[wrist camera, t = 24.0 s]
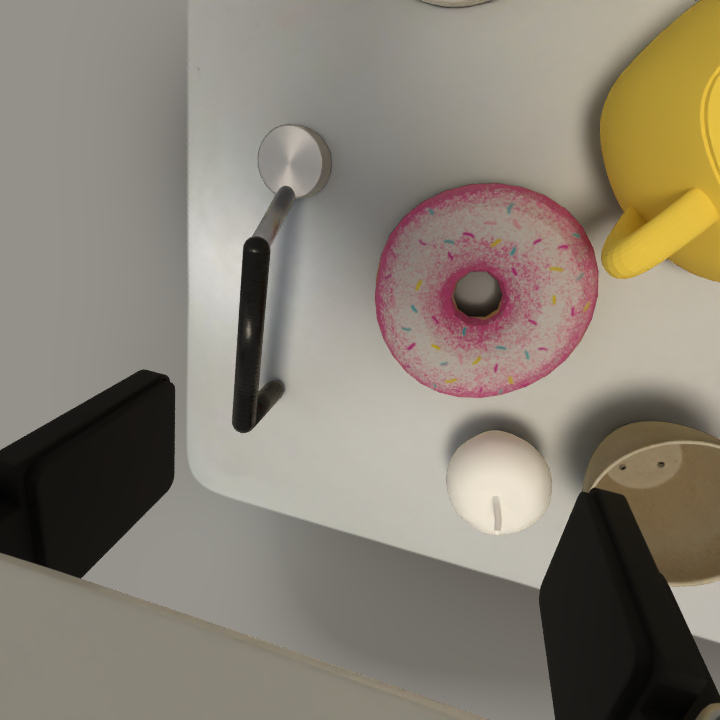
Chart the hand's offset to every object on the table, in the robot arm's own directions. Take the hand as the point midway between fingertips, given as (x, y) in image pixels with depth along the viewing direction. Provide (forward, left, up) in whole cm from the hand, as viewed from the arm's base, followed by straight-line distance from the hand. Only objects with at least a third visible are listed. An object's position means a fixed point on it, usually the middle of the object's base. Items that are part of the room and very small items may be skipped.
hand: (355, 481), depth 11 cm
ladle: (-6, -9, -24) cm, 27 cm away
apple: (+14, -3, -24) cm, 28 cm away
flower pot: (+18, +6, -24) cm, 31 cm away
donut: (+2, +2, -24) cm, 25 cm away
